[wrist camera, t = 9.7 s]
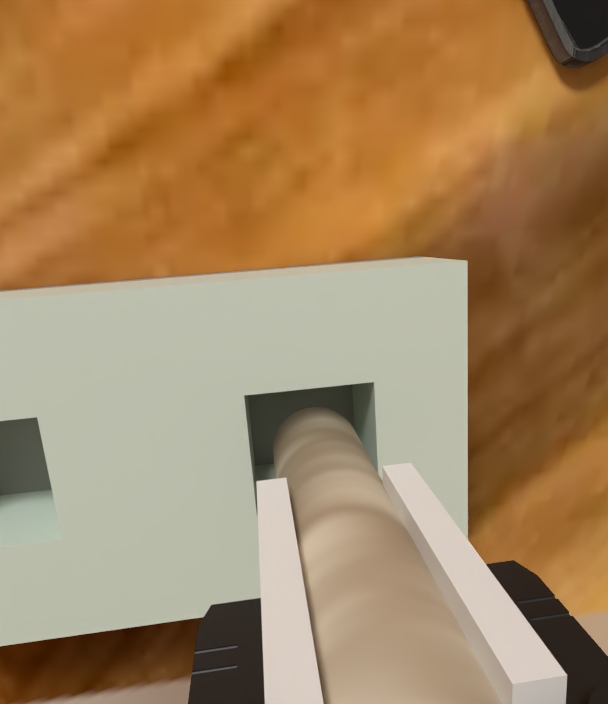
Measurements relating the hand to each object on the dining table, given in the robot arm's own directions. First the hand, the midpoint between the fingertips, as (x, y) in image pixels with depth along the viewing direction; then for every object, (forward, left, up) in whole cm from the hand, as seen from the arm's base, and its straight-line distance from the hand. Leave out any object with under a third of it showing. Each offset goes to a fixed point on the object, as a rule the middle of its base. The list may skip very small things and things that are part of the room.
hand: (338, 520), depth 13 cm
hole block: (-6, 0, -10) cm, 11 cm away
